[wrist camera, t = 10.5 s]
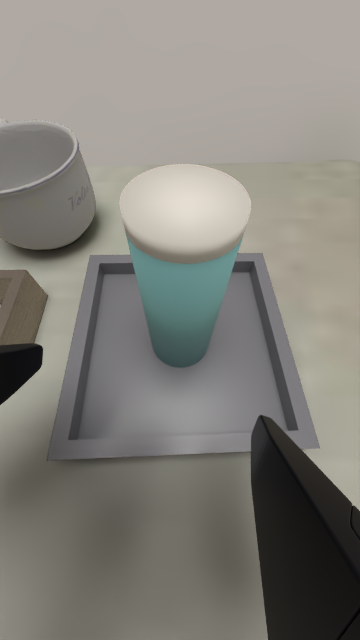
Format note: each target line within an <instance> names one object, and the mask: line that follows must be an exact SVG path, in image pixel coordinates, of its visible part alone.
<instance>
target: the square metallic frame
mask: <svg viewBox="0 0 360 640" xmlns="http://www.w3.org/2000/svg"><path fill="white" fill-rule="evenodd" d="M47 297H48V295H47V294H46V293H45V292H44V290H43V289H42V288H41V287H40V286H39V284H38V283H37V282H36V281H35V280H34V278H33V277H32V276H31V275H30V274H29V272H28V271H27V270H0V304H2V305H1V307H0V345H10V344H24V343H34V341H35V337H36V334H37V331H38V327H39V324H40V321H41V317H42V314H43V310H44V307H45V304H46V300H47Z"/></svg>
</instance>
